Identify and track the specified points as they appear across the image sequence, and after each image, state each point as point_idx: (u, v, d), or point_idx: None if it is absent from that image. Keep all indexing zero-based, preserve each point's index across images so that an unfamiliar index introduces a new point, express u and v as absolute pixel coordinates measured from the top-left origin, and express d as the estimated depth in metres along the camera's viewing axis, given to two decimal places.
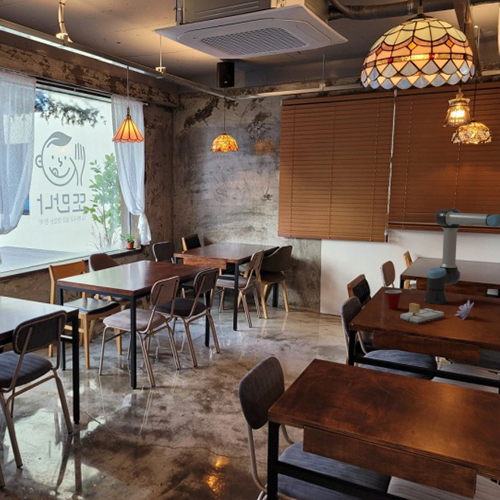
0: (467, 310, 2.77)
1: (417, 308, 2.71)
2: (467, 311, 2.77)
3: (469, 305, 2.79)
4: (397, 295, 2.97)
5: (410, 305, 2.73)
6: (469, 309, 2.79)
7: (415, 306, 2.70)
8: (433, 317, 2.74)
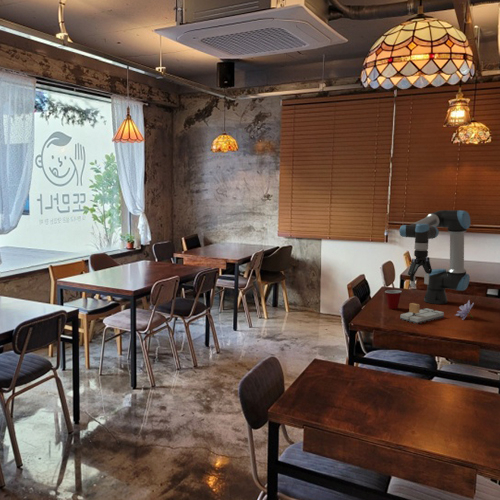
0: (467, 310, 2.77)
1: (417, 308, 2.71)
2: (467, 311, 2.77)
3: (469, 305, 2.79)
4: (397, 295, 2.97)
5: (410, 305, 2.73)
6: (469, 309, 2.78)
7: (415, 306, 2.70)
8: (433, 317, 2.74)
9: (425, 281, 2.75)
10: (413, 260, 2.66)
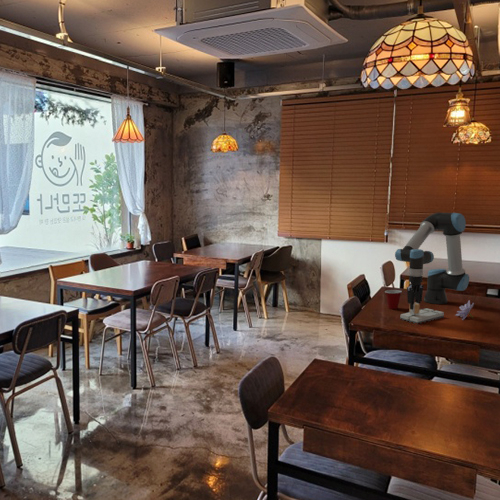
0: (467, 310, 2.76)
1: (417, 308, 2.71)
2: (467, 311, 2.77)
3: (469, 305, 2.79)
4: (397, 295, 2.97)
5: None
6: (469, 309, 2.78)
7: (415, 306, 2.70)
8: (433, 317, 2.74)
9: None
10: (408, 289, 2.68)
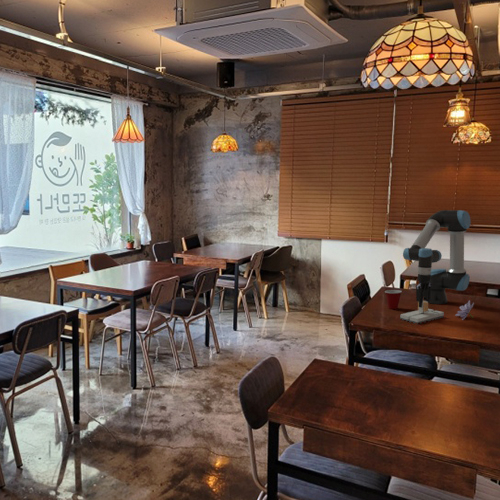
0: (467, 310, 2.76)
1: (426, 306, 2.75)
2: (467, 311, 2.77)
3: (469, 305, 2.79)
4: (397, 295, 2.97)
5: None
6: (469, 309, 2.78)
7: (424, 304, 2.75)
8: (433, 317, 2.74)
9: None
10: (417, 287, 2.73)
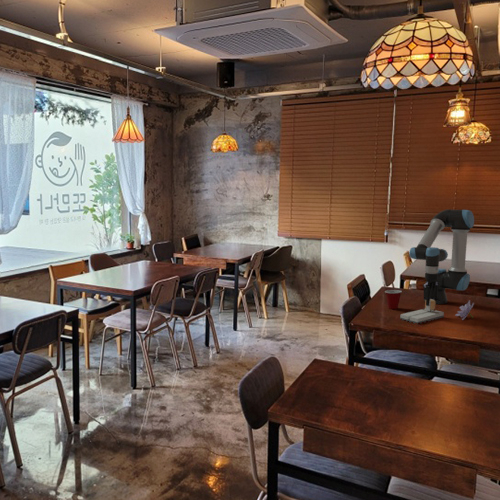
0: (467, 310, 2.76)
1: (433, 304, 2.79)
2: (467, 311, 2.77)
3: (469, 305, 2.79)
4: (397, 295, 2.97)
5: None
6: (469, 309, 2.78)
7: (431, 302, 2.79)
8: (433, 317, 2.74)
9: None
10: (424, 286, 2.77)
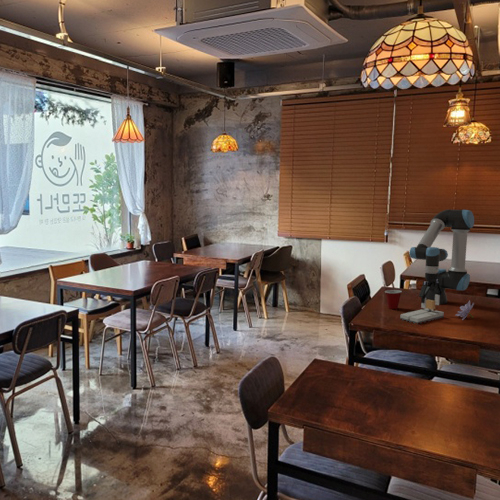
0: (467, 310, 2.76)
1: (433, 304, 2.79)
2: (467, 311, 2.77)
3: (470, 305, 2.79)
4: (397, 295, 2.97)
5: (426, 301, 2.82)
6: (469, 309, 2.78)
7: (431, 302, 2.79)
8: (433, 317, 2.74)
9: None
10: (424, 283, 2.76)
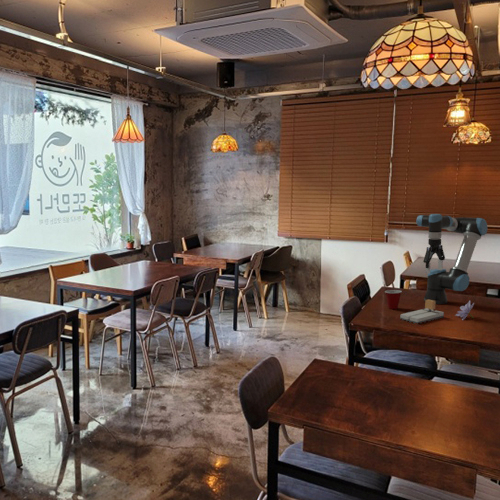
0: (467, 310, 2.76)
1: (433, 304, 2.79)
2: (467, 311, 2.77)
3: (470, 305, 2.78)
4: (397, 295, 2.97)
5: (426, 301, 2.82)
6: (470, 309, 2.78)
7: (431, 302, 2.79)
8: (433, 317, 2.74)
9: (439, 267, 2.95)
10: (428, 248, 2.85)
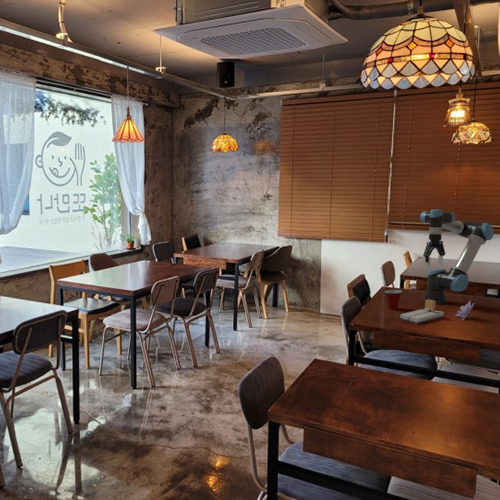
0: (467, 310, 2.76)
1: (433, 304, 2.79)
2: (467, 311, 2.76)
3: (470, 305, 2.78)
4: (397, 295, 2.97)
5: (426, 301, 2.82)
6: (470, 309, 2.77)
7: (431, 302, 2.79)
8: (433, 317, 2.74)
9: (439, 263, 2.99)
10: (428, 243, 2.89)
